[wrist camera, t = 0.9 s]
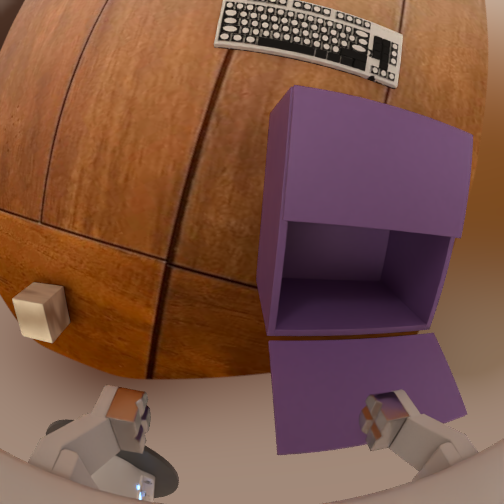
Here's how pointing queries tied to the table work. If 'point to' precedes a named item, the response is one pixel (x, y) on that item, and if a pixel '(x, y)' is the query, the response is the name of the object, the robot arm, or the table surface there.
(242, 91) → the table surface
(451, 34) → the table surface
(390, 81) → the keyboard
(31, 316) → the block
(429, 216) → the box
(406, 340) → the flap
